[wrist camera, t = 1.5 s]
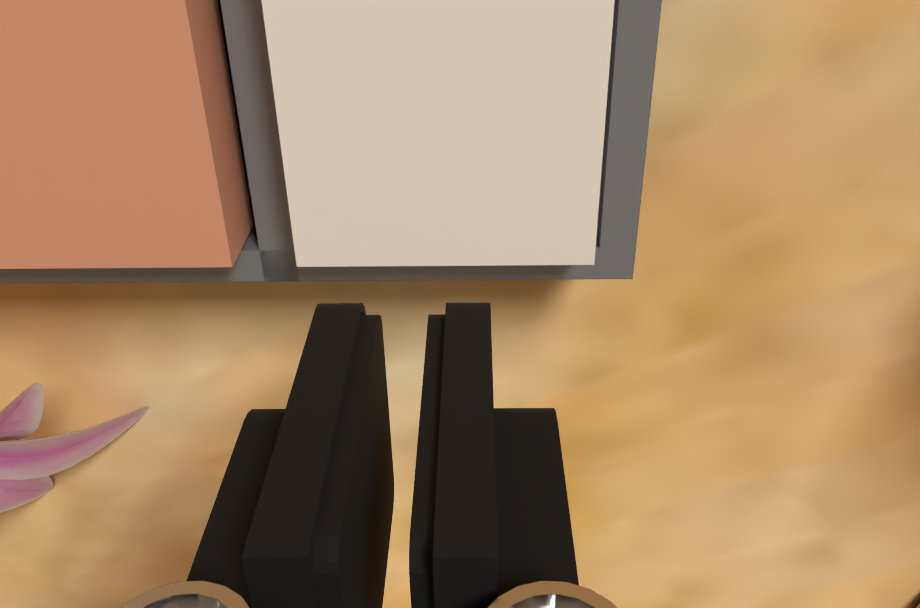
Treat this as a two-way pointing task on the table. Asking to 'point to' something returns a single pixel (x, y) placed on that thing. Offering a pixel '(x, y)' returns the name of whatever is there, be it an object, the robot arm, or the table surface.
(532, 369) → the table surface
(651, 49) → the key console
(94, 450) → the lily
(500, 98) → the key white
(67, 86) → the key terracotta
